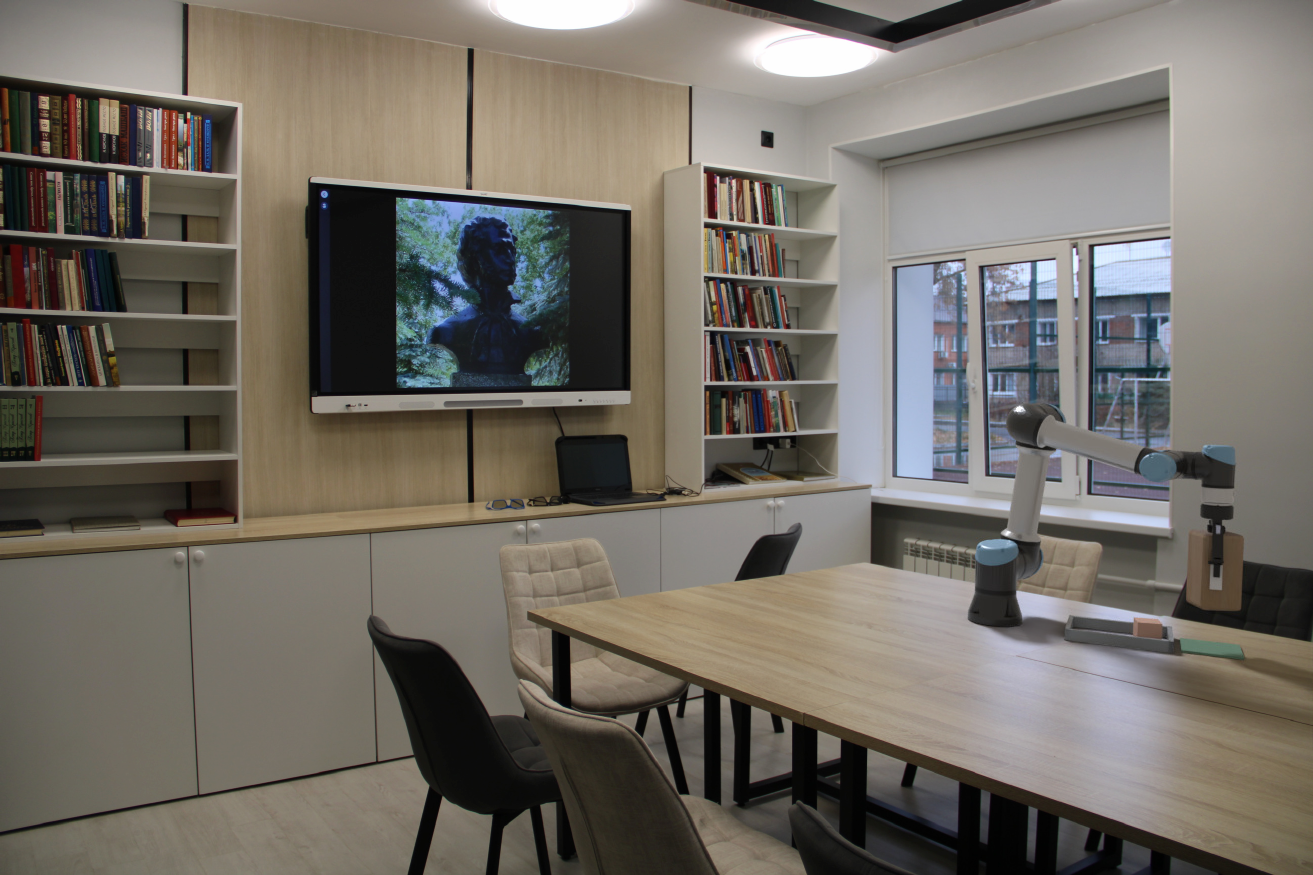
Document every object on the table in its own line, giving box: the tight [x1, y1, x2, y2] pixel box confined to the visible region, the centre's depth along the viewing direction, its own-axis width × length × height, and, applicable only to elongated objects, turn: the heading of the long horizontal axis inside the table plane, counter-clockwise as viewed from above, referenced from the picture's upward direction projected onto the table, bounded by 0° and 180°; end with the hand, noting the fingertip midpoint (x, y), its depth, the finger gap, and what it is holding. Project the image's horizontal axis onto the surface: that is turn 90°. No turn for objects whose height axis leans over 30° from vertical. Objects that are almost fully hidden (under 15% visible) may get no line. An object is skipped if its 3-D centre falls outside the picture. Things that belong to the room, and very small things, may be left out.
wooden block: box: [1185, 529, 1245, 612], centre depth 248 cm, size 10×10×20 cm
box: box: [1132, 616, 1164, 640], centre depth 255 cm, size 6×6×6 cm
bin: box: [1063, 614, 1175, 654], centre depth 259 cm, size 26×18×3 cm
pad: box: [1179, 637, 1245, 661], centre depth 249 cm, size 14×14×1 cm
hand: (1213, 585), depth 248 cm, fingers closed on wooden block, 12 cm apart
